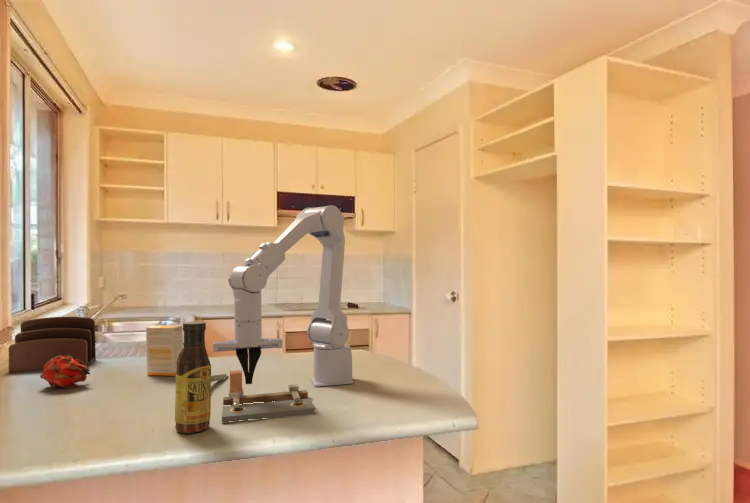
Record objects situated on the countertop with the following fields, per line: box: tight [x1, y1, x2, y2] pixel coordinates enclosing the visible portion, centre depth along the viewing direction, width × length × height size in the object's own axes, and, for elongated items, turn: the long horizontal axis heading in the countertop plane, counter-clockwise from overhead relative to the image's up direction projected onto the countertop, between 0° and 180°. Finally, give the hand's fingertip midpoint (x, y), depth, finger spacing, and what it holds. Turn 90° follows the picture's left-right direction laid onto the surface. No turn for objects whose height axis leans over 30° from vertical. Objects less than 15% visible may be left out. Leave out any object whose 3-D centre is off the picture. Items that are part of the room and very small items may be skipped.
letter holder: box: [8, 316, 97, 373], centre depth 147 cm, size 10×20×14 cm, turn 107°
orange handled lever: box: [228, 369, 244, 409], centre depth 104 cm, size 3×10×6 cm, turn 16°
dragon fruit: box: [39, 355, 91, 389], centre depth 123 cm, size 8×8×12 cm
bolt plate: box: [221, 397, 316, 423], centre depth 101 cm, size 18×7×1 cm, turn 106°
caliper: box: [211, 373, 229, 383], centre depth 121 cm, size 20×1×6 cm, turn 172°
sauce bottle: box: [174, 321, 212, 434], centre depth 93 cm, size 7×6×20 cm
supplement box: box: [145, 324, 184, 377], centre depth 135 cm, size 8×5×13 cm, turn 80°
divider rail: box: [222, 383, 309, 405], centre depth 105 cm, size 18×10×3 cm, turn 106°
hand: (248, 382), depth 108 cm, fingers closed
